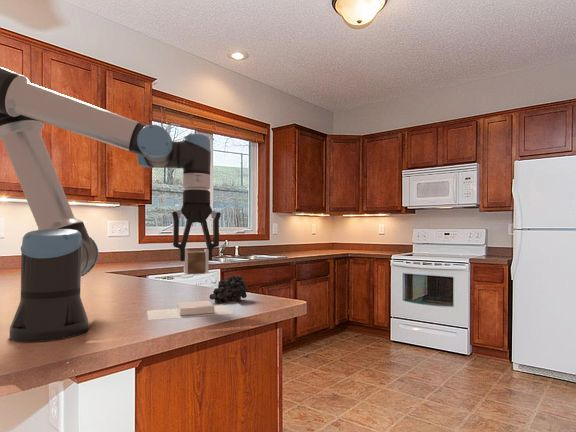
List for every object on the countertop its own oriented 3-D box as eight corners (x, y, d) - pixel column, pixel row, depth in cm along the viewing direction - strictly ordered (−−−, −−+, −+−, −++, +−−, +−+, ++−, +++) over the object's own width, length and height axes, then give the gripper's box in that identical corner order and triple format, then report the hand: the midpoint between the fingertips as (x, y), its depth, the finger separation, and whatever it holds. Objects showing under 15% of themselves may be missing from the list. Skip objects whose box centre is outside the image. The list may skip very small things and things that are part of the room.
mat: (148, 322, 99) (148, 320, 99) (146, 312, 110) (146, 310, 110) (233, 315, 107) (233, 313, 107) (224, 307, 118) (224, 305, 118)
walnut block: (186, 274, 108) (187, 252, 108) (184, 272, 113) (184, 251, 113) (205, 273, 110) (205, 252, 110) (202, 271, 115) (202, 251, 115)
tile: (180, 308, 103) (214, 306, 106) (176, 302, 111) (208, 300, 115) (180, 316, 103) (214, 313, 106) (176, 309, 111) (208, 307, 115)
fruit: (214, 276, 120) (248, 271, 132) (198, 283, 124) (232, 277, 136) (221, 304, 118) (254, 296, 130) (204, 310, 123) (238, 302, 134)
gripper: (164, 187, 103) (163, 275, 102) (231, 189, 110) (230, 272, 109) (162, 189, 110) (161, 272, 109) (225, 192, 117) (224, 270, 116)
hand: (196, 272), depth 109 cm, fingers closed on walnut block, 5 cm apart
